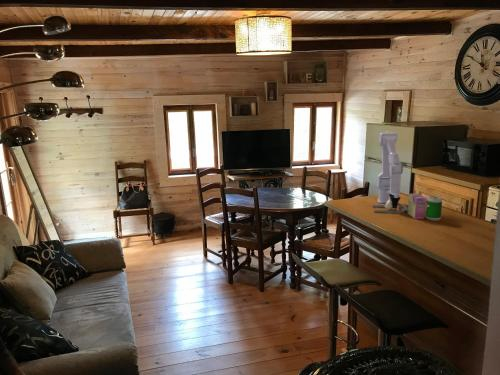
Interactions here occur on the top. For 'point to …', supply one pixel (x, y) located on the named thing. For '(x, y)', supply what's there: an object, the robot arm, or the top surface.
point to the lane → (391, 211)
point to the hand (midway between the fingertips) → (394, 207)
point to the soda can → (434, 208)
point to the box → (416, 206)
